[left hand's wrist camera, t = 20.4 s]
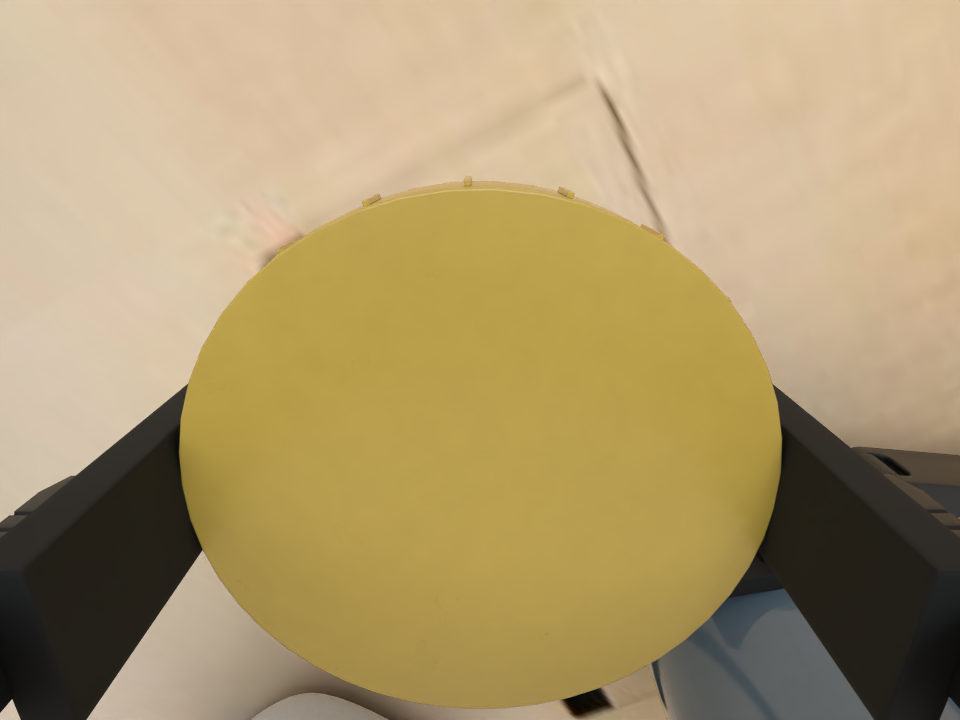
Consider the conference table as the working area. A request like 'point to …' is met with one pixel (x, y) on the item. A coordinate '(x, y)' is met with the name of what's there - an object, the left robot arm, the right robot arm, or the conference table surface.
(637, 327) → the lid
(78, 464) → the conference table surface
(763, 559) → the right robot arm
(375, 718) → the projector
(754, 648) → the jar
